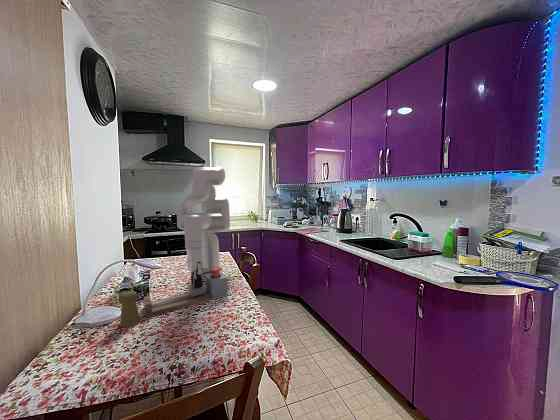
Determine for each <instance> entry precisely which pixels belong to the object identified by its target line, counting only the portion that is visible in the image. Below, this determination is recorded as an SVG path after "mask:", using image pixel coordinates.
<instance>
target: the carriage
mask: <svg viewBox="0 0 560 420" xmlns="http://www.w3.org/2000/svg"><path fill="white" fill-rule="evenodd" d="M197 274H198V273H197ZM197 274H196V275H197ZM194 279H195V274H193V284H191V283H190V284H188V285H187V291H188V292H189V293H190V294H191V295H192V297H194V296H197V295H201V294H204V293H206V292H207V290H206V286H205V283H203V287H200V288H195V285H194Z"/></svg>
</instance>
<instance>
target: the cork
mask: <svg viewBox="0 0 560 420" xmlns="http://www.w3.org/2000/svg"><path fill="white" fill-rule="evenodd" d="M137 297H138V294H137V292H136V291H134V290H129V291H125V292H122V294H121V293H120V295H119V302H120V303H121V312H120V322H119V323H120V325H119V326H120V327H121V328H129V327H133V326H135V325H137V324H138V323H140V321H141V318H140V313H139V308H138V306H137Z"/></svg>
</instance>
